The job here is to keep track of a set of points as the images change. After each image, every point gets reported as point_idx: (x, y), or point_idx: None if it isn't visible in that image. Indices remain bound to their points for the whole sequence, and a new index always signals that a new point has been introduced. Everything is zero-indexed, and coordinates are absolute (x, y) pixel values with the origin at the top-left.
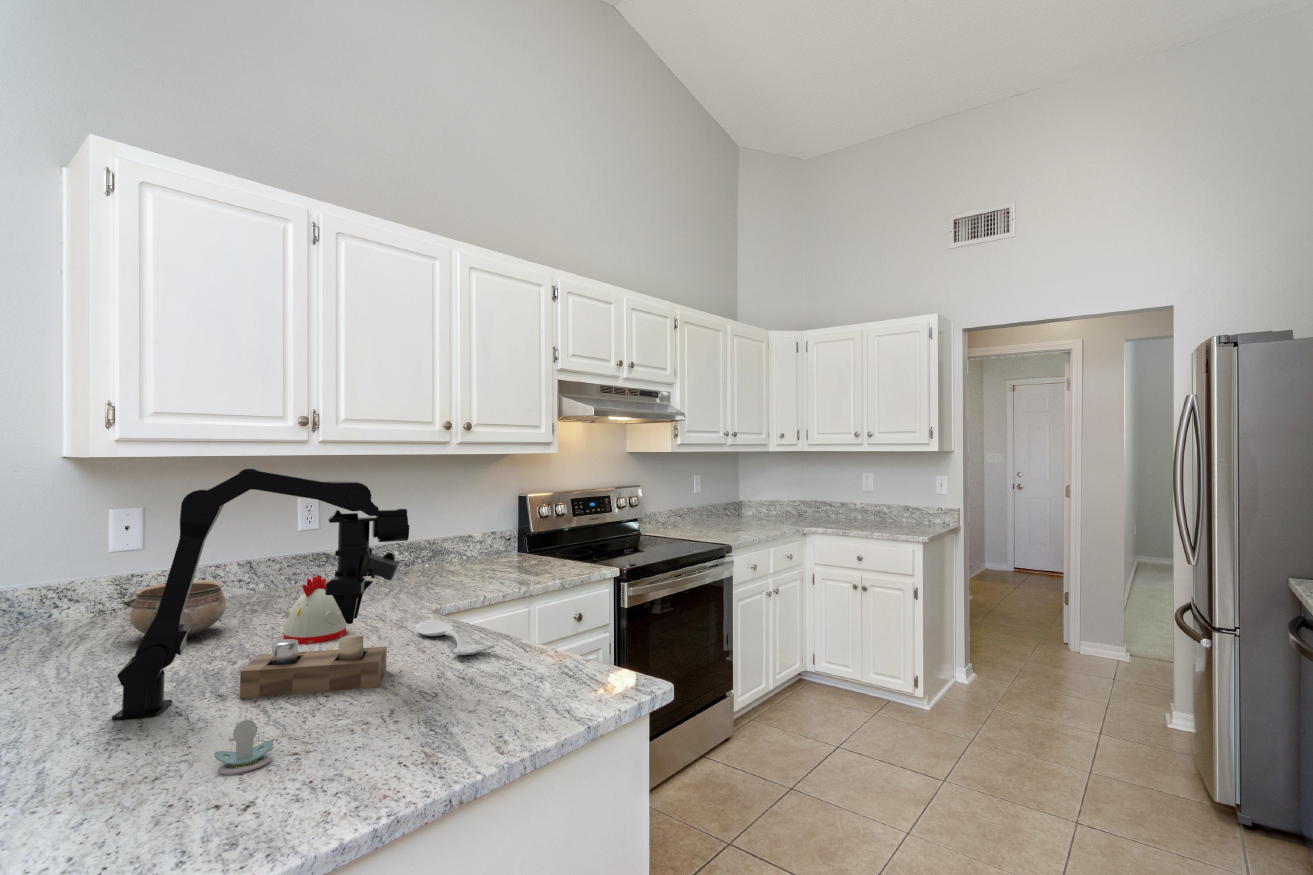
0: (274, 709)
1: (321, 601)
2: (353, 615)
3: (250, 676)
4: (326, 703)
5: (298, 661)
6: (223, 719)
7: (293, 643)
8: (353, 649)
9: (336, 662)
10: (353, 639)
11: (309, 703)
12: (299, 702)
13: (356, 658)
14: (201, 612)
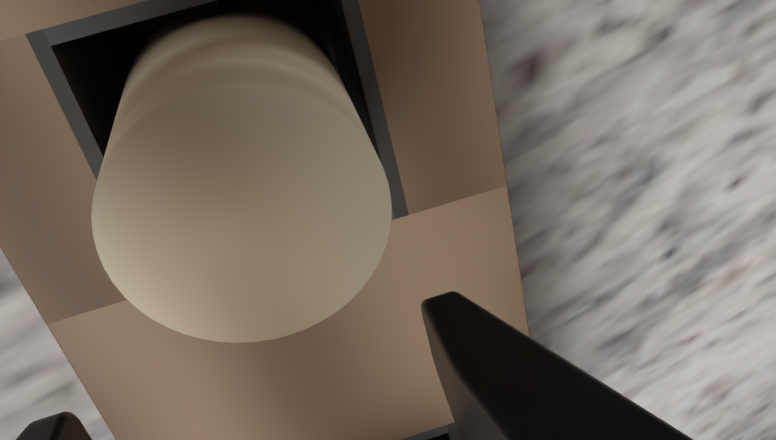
0: (688, 243)
1: None
2: (556, 357)
3: None
4: (660, 5)
5: (404, 437)
6: (753, 371)
7: None
8: (347, 100)
9: (438, 166)
10: (287, 179)
11: (639, 111)
12: (613, 176)
13: (306, 42)
14: None
